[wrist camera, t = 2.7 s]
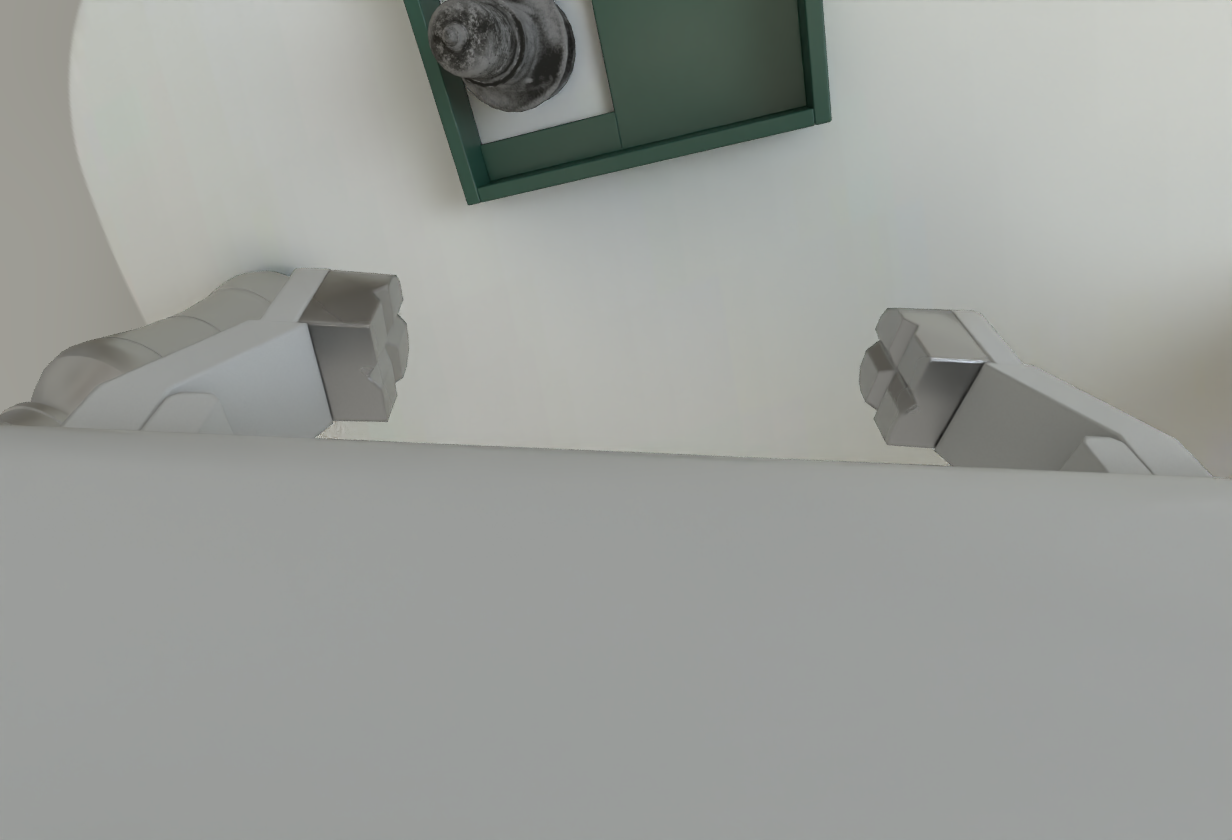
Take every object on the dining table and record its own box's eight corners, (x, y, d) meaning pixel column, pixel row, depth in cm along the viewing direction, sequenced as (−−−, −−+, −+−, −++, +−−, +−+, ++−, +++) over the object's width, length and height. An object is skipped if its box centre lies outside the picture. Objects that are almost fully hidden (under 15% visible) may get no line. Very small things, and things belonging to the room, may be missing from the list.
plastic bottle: (239, 251, 43) (-93, 371, 25) (338, 276, 43) (74, 415, 25) (245, 341, 46) (-47, 503, 28) (338, 365, 46) (102, 542, 28)
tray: (798, -183, 29) (806, -209, 27) (823, 118, 35) (832, 121, 32) (408, -53, 34) (382, -64, 31) (484, 197, 39) (467, 205, 36)
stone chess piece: (462, -6, 34) (350, -44, 24) (570, -27, 33) (503, -76, 23) (488, 116, 37) (397, 131, 26) (589, 100, 36) (536, 109, 25)
